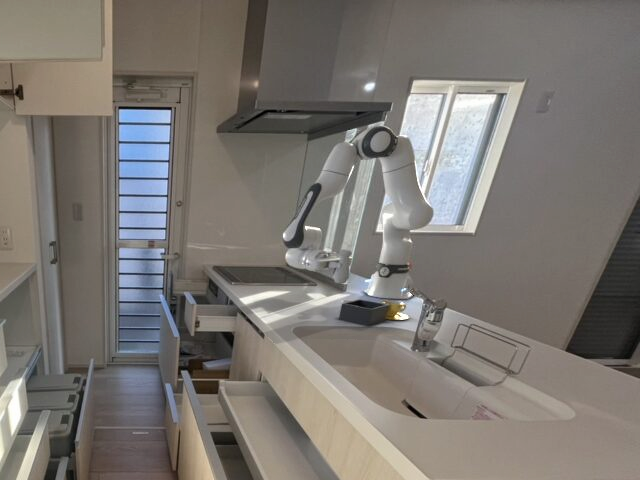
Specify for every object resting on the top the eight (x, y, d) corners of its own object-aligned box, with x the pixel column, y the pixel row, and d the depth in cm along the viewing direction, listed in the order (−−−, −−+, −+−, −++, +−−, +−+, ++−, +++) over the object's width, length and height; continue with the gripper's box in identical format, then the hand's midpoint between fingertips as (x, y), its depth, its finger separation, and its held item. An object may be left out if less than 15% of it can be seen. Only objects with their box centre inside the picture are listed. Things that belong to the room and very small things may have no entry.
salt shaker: (334, 280, 172) (340, 248, 166) (349, 281, 169) (356, 249, 163) (330, 282, 168) (336, 249, 162) (345, 284, 164) (352, 250, 159)
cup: (382, 321, 147) (386, 306, 145) (365, 312, 158) (368, 298, 156) (415, 320, 147) (420, 305, 145) (396, 312, 158) (399, 298, 155)
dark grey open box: (356, 314, 156) (359, 299, 153) (385, 320, 148) (389, 304, 145) (338, 319, 150) (341, 303, 148) (368, 325, 142) (371, 309, 140)
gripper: (300, 255, 171) (328, 259, 159) (335, 251, 178) (364, 255, 167) (298, 270, 173) (325, 275, 162) (333, 266, 181) (360, 270, 170)
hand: (345, 265), depth 165 cm, fingers closed on salt shaker, 3 cm apart
